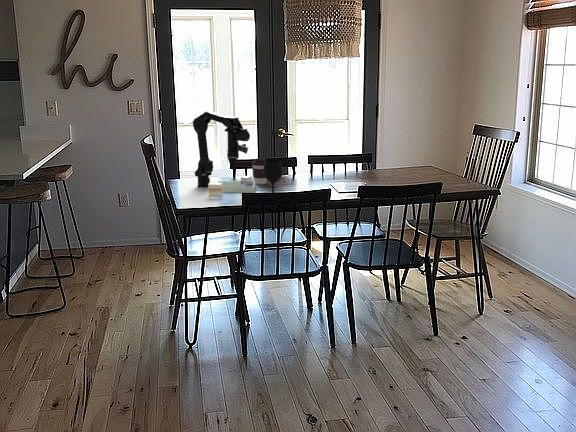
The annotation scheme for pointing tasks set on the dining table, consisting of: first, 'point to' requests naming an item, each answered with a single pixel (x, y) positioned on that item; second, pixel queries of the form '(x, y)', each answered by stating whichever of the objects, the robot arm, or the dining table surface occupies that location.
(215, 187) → the taped carton
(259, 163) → the coffee cup
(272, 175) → the wine glass
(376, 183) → the dining table surface
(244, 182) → the tin can
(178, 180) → the dining table surface
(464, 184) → the dining table surface
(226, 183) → the tote
